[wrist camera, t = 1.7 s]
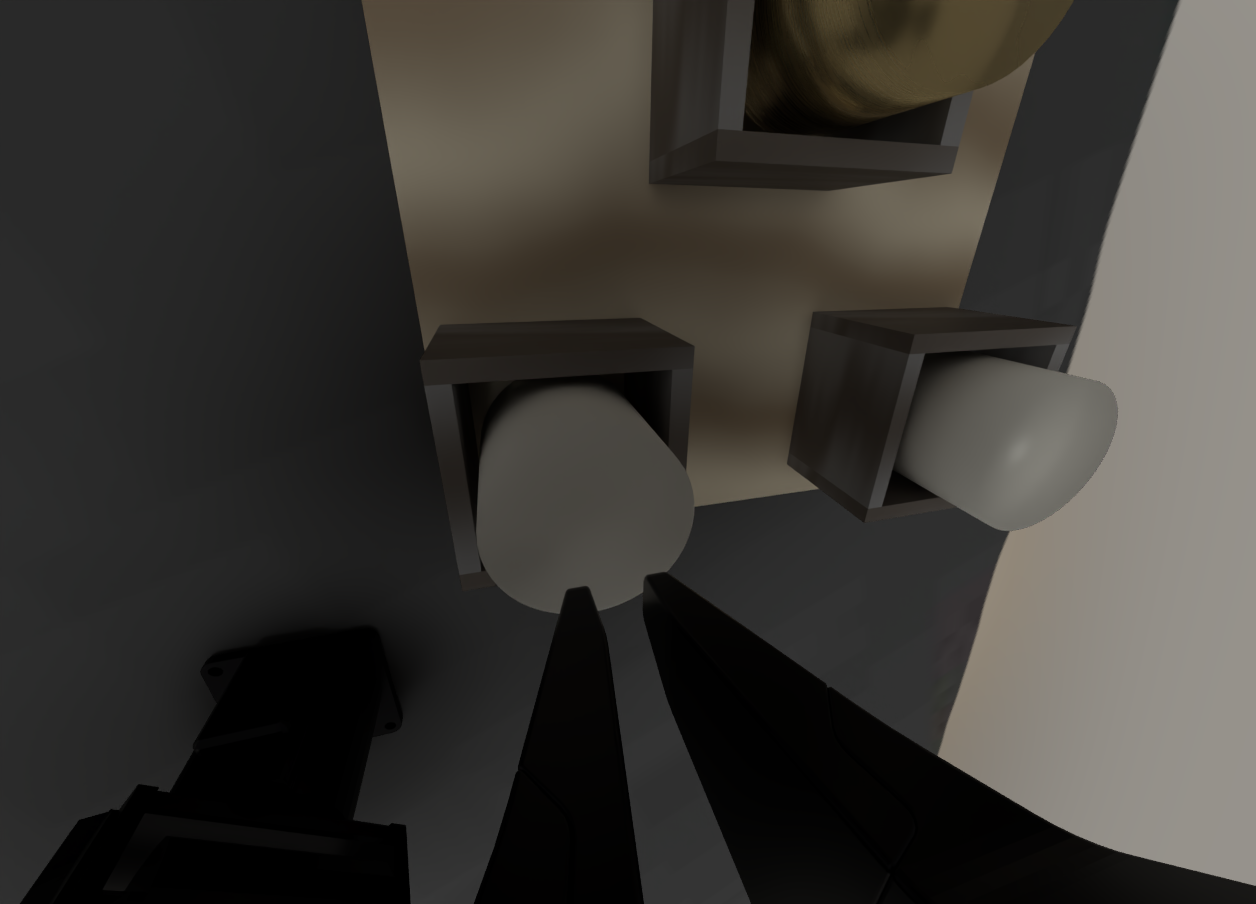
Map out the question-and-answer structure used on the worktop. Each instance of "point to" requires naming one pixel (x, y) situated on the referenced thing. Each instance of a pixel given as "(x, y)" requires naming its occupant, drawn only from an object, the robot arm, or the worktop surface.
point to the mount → (681, 243)
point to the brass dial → (882, 56)
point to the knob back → (1004, 436)
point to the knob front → (576, 494)
